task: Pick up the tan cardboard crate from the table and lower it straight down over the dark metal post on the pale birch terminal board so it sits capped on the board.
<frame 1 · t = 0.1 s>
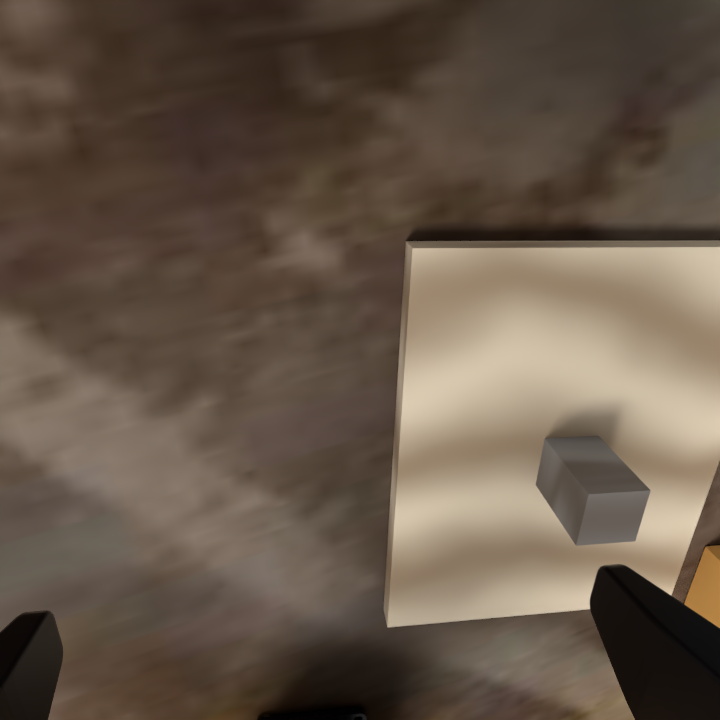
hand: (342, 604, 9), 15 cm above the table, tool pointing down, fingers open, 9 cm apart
terminal board: (555, 446, 27), on the table
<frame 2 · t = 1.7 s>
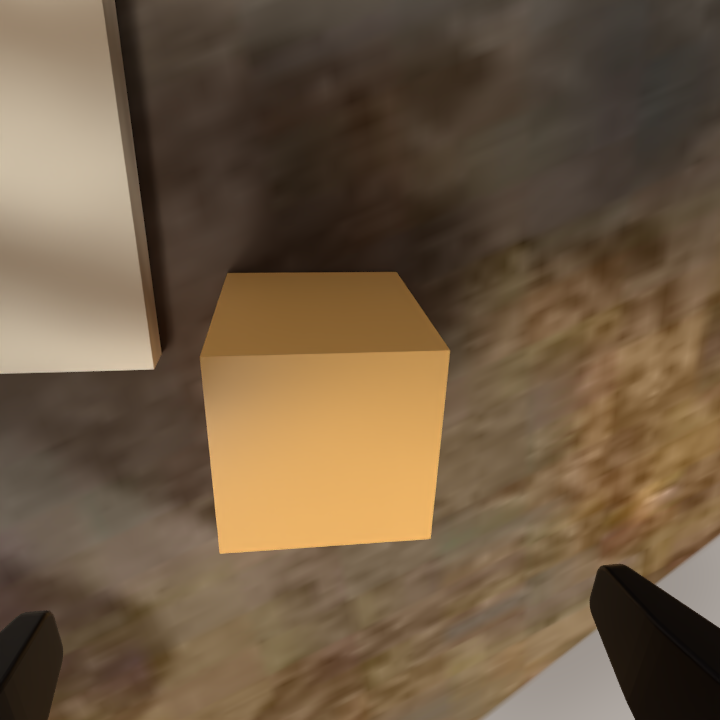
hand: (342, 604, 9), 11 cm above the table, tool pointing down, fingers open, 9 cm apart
tan cardboard crate: (314, 349, 19), on the table
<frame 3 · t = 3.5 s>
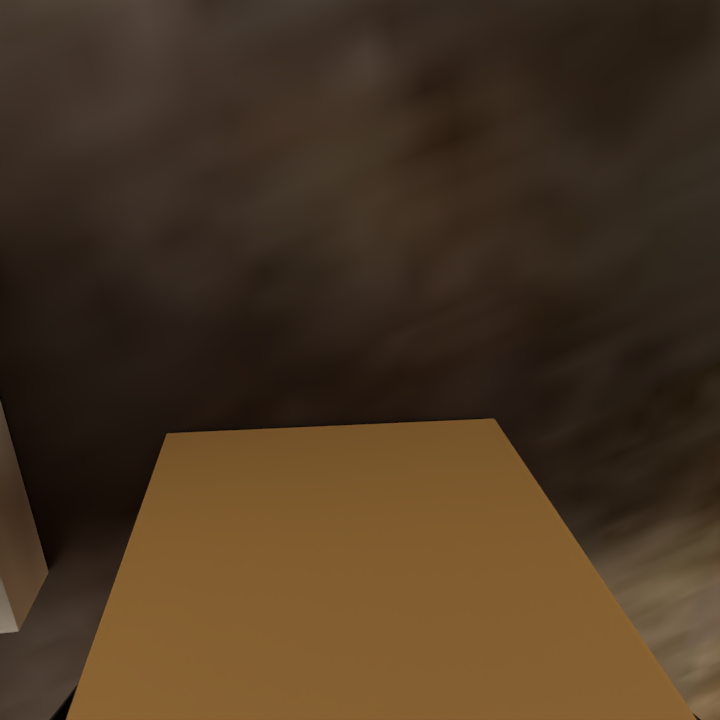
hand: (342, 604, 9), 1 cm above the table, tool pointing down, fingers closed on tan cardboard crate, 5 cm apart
tan cardboard crate: (335, 550, 10), on the table, touching gripper
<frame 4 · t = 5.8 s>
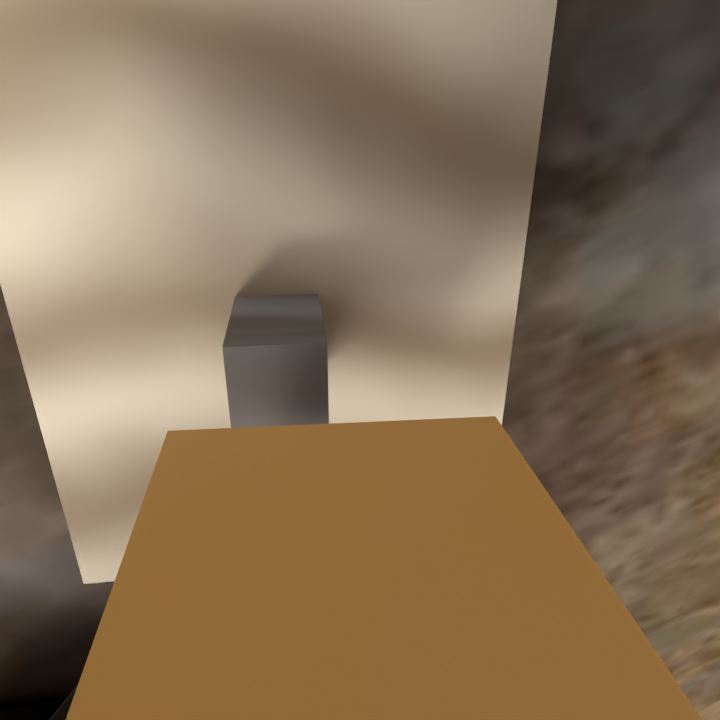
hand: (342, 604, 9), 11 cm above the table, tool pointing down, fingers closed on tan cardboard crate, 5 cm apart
tan cardboard crate: (336, 548, 10), point 10 cm above the table, touching gripper
terminal board: (279, 320, 19), on the table
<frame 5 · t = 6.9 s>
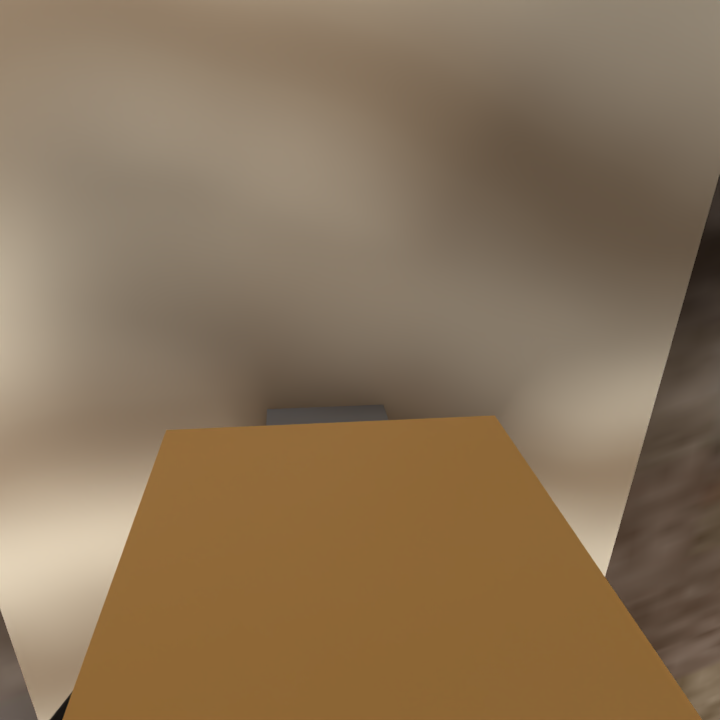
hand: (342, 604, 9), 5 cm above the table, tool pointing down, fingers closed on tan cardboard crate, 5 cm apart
tan cardboard crate: (335, 548, 10), point 4 cm above the table, touching gripper
terminal board: (322, 428, 14), on the table
when the fingers open (4 cm above the table, at t = 8.0 s): tan cardboard crate drops 1 cm, resting on terminal board.
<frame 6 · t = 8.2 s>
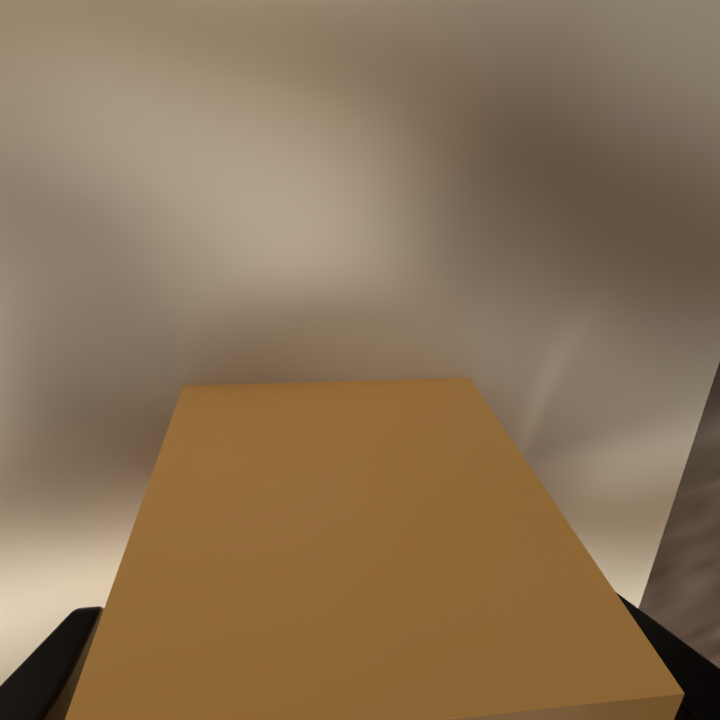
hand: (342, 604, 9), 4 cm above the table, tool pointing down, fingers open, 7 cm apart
tan cardboard crate: (329, 496, 12), point 1 cm above the table, touching terminal board
terminal board: (326, 464, 13), on the table
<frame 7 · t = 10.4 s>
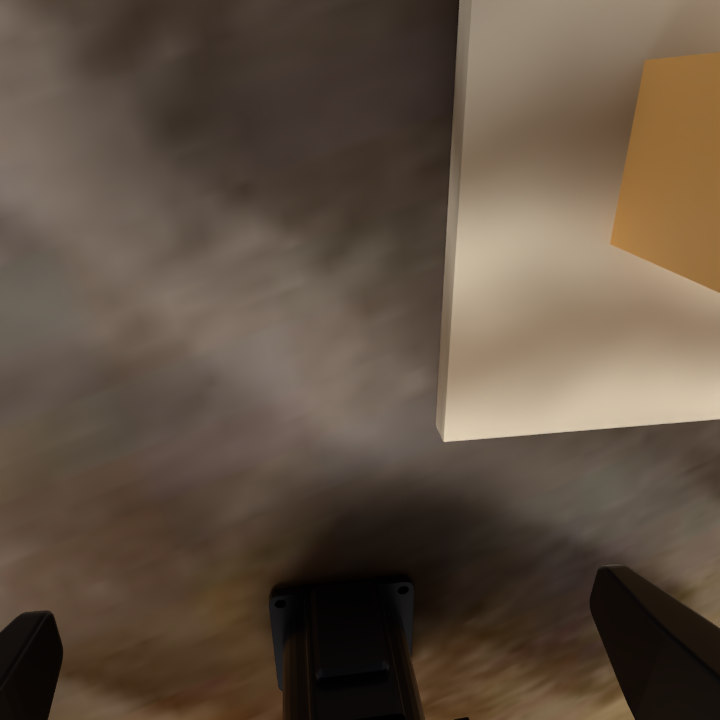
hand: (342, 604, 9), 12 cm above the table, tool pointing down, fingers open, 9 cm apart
tan cardboard crate: (705, 156, 18), point 1 cm above the table, touching terminal board
terminal board: (681, 154, 19), on the table
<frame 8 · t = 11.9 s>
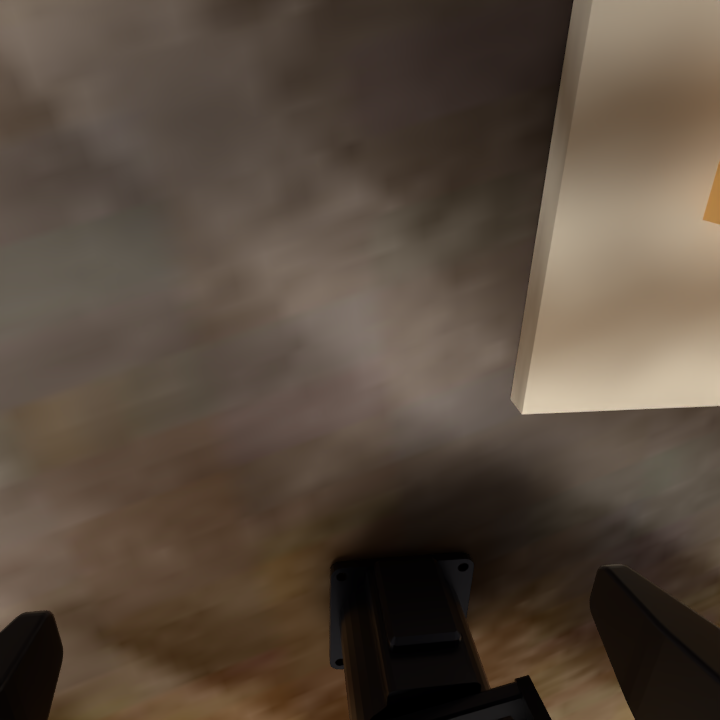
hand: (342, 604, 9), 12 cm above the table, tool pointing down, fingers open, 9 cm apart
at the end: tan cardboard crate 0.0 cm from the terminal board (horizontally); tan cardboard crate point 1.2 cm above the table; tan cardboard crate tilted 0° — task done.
